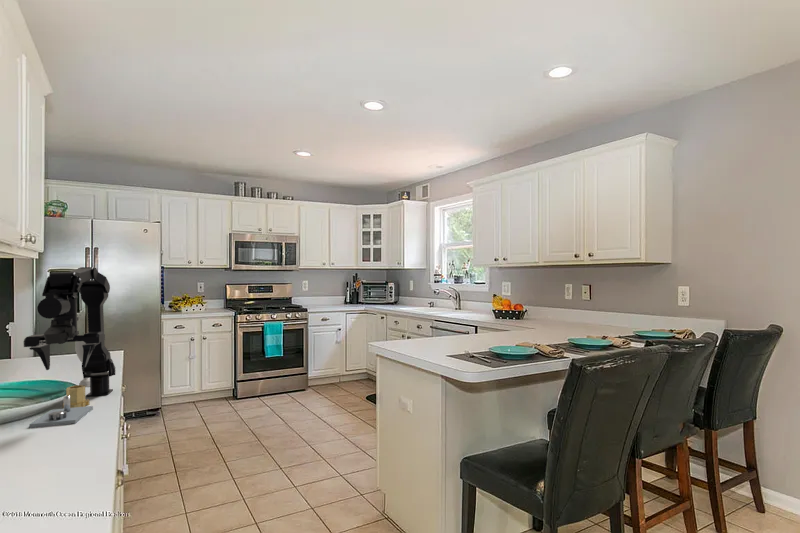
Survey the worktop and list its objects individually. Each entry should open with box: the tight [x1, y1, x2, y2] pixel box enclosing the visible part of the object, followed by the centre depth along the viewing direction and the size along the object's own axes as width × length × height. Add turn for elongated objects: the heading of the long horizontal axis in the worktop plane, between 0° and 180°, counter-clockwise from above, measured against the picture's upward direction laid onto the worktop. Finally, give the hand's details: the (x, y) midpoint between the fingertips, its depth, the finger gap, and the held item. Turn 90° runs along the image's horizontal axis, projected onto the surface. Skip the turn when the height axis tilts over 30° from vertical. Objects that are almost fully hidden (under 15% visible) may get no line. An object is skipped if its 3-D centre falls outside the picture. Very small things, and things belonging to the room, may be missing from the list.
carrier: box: [29, 395, 94, 429], centre depth 138 cm, size 14×11×6 cm
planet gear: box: [62, 384, 90, 409], centre depth 151 cm, size 7×7×6 cm
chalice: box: [74, 341, 90, 388], centre depth 177 cm, size 7×7×18 cm
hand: (66, 368), depth 138 cm, fingers open, 9 cm apart
